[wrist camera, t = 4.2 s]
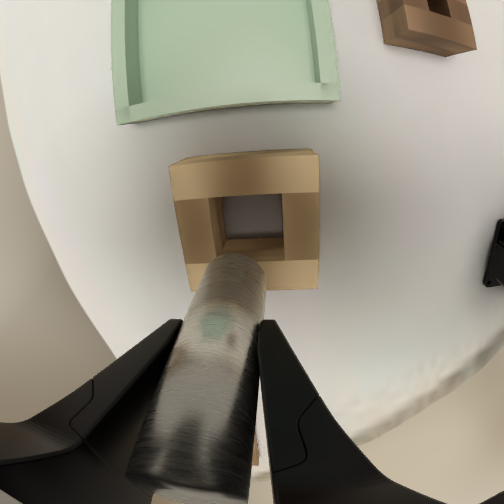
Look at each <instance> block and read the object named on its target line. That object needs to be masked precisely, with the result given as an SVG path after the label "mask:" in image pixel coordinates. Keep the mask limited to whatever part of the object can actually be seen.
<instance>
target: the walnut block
mask: <svg viewBox="0 0 504 504" xmlns="http://www.w3.org/2000/svg"><path fill="white" fill-rule="evenodd" d="M377 4H378V9H379V14H380V20H381V26H382V32H383V38H384V44H387V45H393V46H399V47H405V48H410V49H415V50H419V51H424V52H428V53H432V54H436V55H440V56H444V57H447V56H451V55H455V54H459V53H463V52H468V51H472V50H477V48H476V42H475V37H474V32H473V27H472V23H471V18H470V14H469V11H468V7H467V3H466V0H377Z"/></svg>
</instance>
